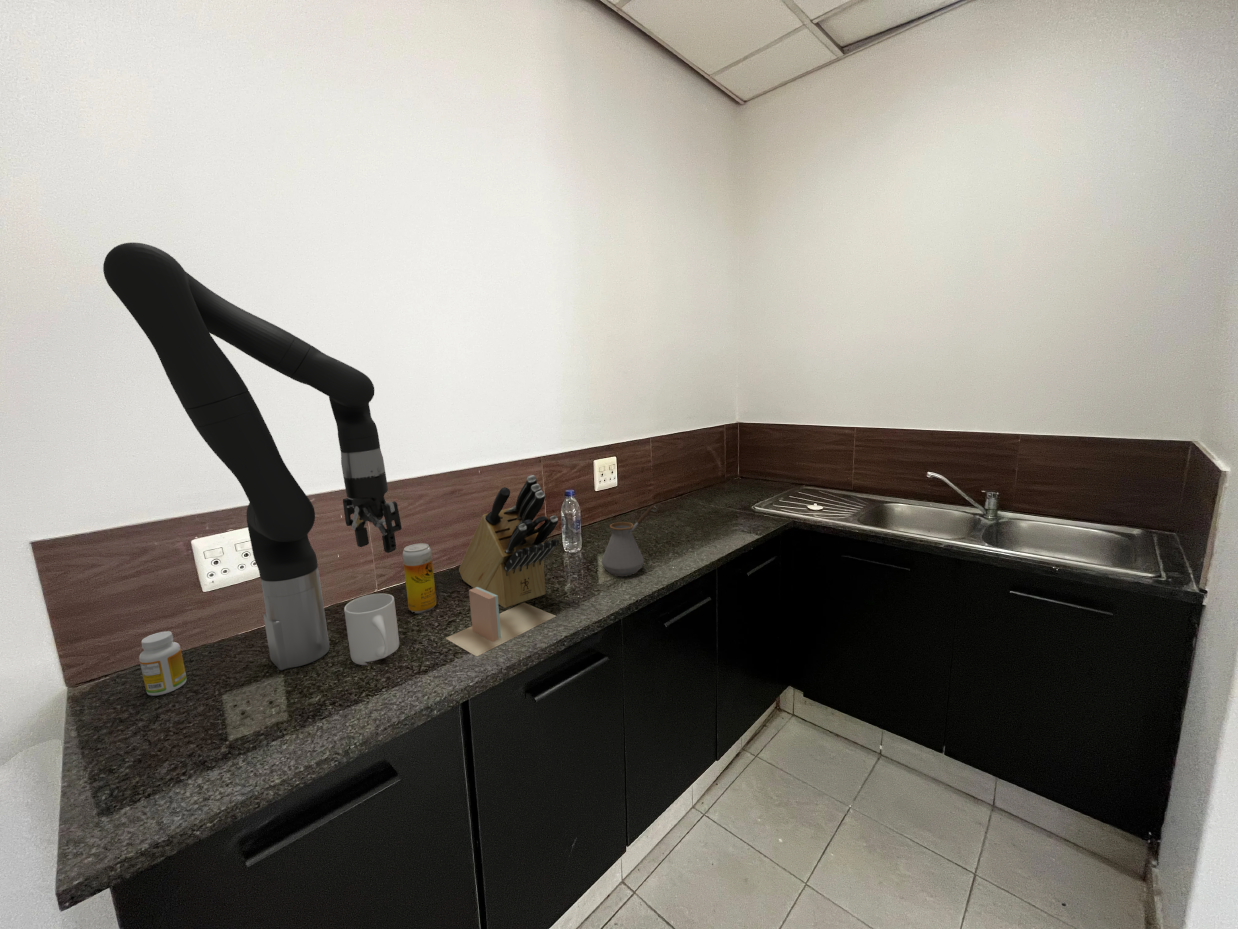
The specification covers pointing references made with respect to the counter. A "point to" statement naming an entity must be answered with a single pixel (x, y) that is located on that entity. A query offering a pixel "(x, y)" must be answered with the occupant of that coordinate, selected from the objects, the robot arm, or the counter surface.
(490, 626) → the pink rectangular block
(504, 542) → the knife block
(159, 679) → the supplement bottle
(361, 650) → the mug
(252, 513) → the robot arm
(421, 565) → the beer can
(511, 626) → the board
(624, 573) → the coffee pot
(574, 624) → the counter surface
